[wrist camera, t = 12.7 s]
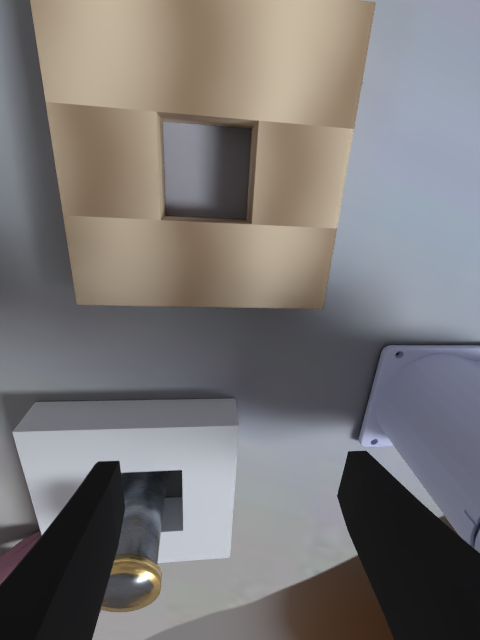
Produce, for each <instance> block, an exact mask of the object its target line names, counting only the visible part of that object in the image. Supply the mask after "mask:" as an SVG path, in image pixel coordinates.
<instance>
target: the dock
mask: <svg viewBox="0 0 480 640" xmlns="http://www.w3.org/2000/svg"><path fill="white" fill-rule="evenodd" d="M12 433H13V437H14V440H15V444H16V447H17V451H18V454H19V458H20V461H21V465H22V468H23V472H24V475H25V479H26V482H27V486H28V489H29V493H30V496H31V500H32V503H33V506H34V510H35V513H36V517H37V520H38V524H39V527H40V531H41V534H42V535H43V533H44V532H45V531H46V530H47V528H48V527H49V526H50V524H51V523H52V522H53V521H54V519H55V518H56V517H57V516H58V514H59V513H60V512H61V510H62V509H63V508H64V506H65V505H66V504H67V502H68V501H69V500H70V498H71V497H72V496H73V494H74V493H75V492H76V490H77V489H78V488H79V486H80V485H81V483H82V482H83V481H84V479H85V478H86V476H87V475H88V473H89V472H90V471H91V469H92V468H93V466H94V465H95V464H96V463H97V462H98V461H120V469H121V473H126V472H149V471H171V470H182V489H183V497H171V498H165V500H164V509H163V518H162V527H161V536H160V545H159V554H158V563H165V562H178V561H191V560H204V559H217V558H230V547H231V533H232V519H233V505H234V491H235V477H236V463H237V449H238V435H239V421H238V414H237V407H236V401H235V398H231V399H175V400H119V401H63V402H35V403H34V404H33V406H32V407H31V408H30V410H29V411H28V412H27V414H26V415H25V416H24V417H23V419H22V420H21V421H20V423H19V424H18V425H17V426H16V428H15V429H14V430H13V432H12Z"/></svg>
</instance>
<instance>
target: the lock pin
mask: <svg viewBox="0 0 480 640" xmlns="http://www.w3.org/2000/svg"><path fill="white" fill-rule="evenodd" d="M121 478H122V486H123V494H124V502H125V512H124V518H123V523H122V529H121V534H120V539H119V545H118V549H117V553H116V556H115V560H114V563H113V567H112V570H111V574H110V578H109V581H108V585H107V588H106V592H105V595H104V599H103V602H102V606H101V610H105V611H110V612H128V611H134V610H138V609H141V608H143V607H145V606H147V605H149V604H151V603H152V602H153V601H155V600H156V598H157V597H158V596H159V594H160V590H161V580H162V572H161V569H160V568H159V566H158V565H157V563H158V554H159V545H160V536H161V527H162V518H163V509H164V500H165V491H166V482H167V471H149V472H126V473H122V477H121Z"/></svg>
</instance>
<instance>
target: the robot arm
mask: <svg viewBox="0 0 480 640" xmlns="http://www.w3.org/2000/svg"><path fill="white" fill-rule="evenodd" d="M399 351H400V353H399V354H398V355H396V353H397V352H399ZM395 355H396V356H395ZM373 439H374V440H373ZM359 442H360V444H361V446H363V447H381V446H395V448H396V449H397V451H398V452H399V453H400V455H401V456H402V457H403V459H404V460H405V462H406V463H407V464H408V466H409V467H410V468H411V470H412V471H413V473H414V474H415V475H416V477H417V478H418V479H419V481H420V482H421V483H422V485H423V486H424V488H425V489H426V490H427V492H428V493H429V494H430V496H431V497H432V499H433V500H434V501H435V503H436V504H437V505H438V507H439V508H440V510H441V511H442V512H443V514H444V515H445V516H446V518H447V519H448V521H449V522H450V523H451V524H452V526H453V527H454V529H455V530H456V532H457V533H458V534H459V535H457V534H456V533H455V532H454V531H453V530H451V529H450V528H449V527H448V526H447V525H446V524H444V523H443V522H442V521H441V520H440V519H439V518H438V517H437V516H435V515H434V514H433V513H432V512H431V511H430V510H429V509H428V508H426V507H425V506H424V505H423V504H422V503H421V502H420V501H419V500H418V499H417V498H416V497H414V496H413V495H412V494H411V493H410V492H409V491H408V490H407V489H406V488H405V487H404V486H403V485H402V484H401V483H400V482H399V481H397V480H396V479H395V478H394V477H393V476H392V475H391V474H390V473H389V472H388V471H387V470H386V469H385V468H384V467H383V466H382V465H381V464H380V463H379V462H378V461H377V460H375V459H374V458H373V457H372V456H371V455H370V454H369V453H368V452H367V451H349V452H348V455H347V459H346V463H345V467H344V471H343V475H342V479H341V483H340V487H339V491H338V495H337V497H338V500H339V503H340V507H341V510H342V514H343V517H344V520H345V523H346V526H347V529H348V532H349V534H350V537H351V539H352V541H353V544H354V546H355V548H356V551H357V553H358V555H359V558H360V560H361V562H362V565H363V567H364V569H365V571H366V574H367V576H368V578H369V581H370V583H371V585H372V588H373V590H374V592H375V595H376V597H377V599H378V601H379V604H380V606H381V608H382V611H383V613H384V615H385V618H386V620H387V623H388V625H389V628H390V630H391V633H392V635H393V638H394V640H480V345H389V346H386V347H385V348H384V349H383V350H382V352H381V356H380V360H379V363H378V367H377V371H376V375H375V379H374V382H373V386H372V390H371V394H370V398H369V401H368V405H367V409H366V413H365V417H364V420H363V424H362V428H361V432H360V435H359ZM124 512H125V502H124V494H123V486H122V478H121V469H120V461H98V462H97V463H96V464H95V465H94V466H93V468H92V469H91V471H90V472H89V473H88V475H87V476H86V478H85V479H84V481H83V482H82V483H81V485H80V486H79V488H78V489H77V490H76V492H75V493H74V494H73V496H72V497H71V498H70V500H69V501H68V502H67V504H66V505H65V506H64V508H63V509H62V510H61V512H60V513H59V514H58V516H57V517H56V518H55V519H54V521H53V522H52V523H51V524H50V526H49V527H48V528H47V530H46V531H45V532H44V533H43V535H42V536H41V537H40V538H39V540H38V541H37V542H36V543H35V544H34V546H33V547H32V548H31V549H30V550H29V552H28V553H27V554H26V555H25V556H24V558H23V559H22V560H21V561H20V562H19V563H18V565H17V566H16V567H15V568H14V569H13V571H12V572H11V573H10V574H9V575H8V576H7V578H6V579H5V580H4V581H3V582H2V583H1V584H0V640H92V637H93V634H94V630H95V627H96V623H97V620H98V616H99V613H100V609H101V606H102V602H103V599H104V595H105V592H106V588H107V585H108V581H109V578H110V574H111V570H112V567H113V563H114V560H115V556H116V553H117V549H118V545H119V539H120V534H121V529H122V523H123V518H124Z"/></svg>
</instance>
